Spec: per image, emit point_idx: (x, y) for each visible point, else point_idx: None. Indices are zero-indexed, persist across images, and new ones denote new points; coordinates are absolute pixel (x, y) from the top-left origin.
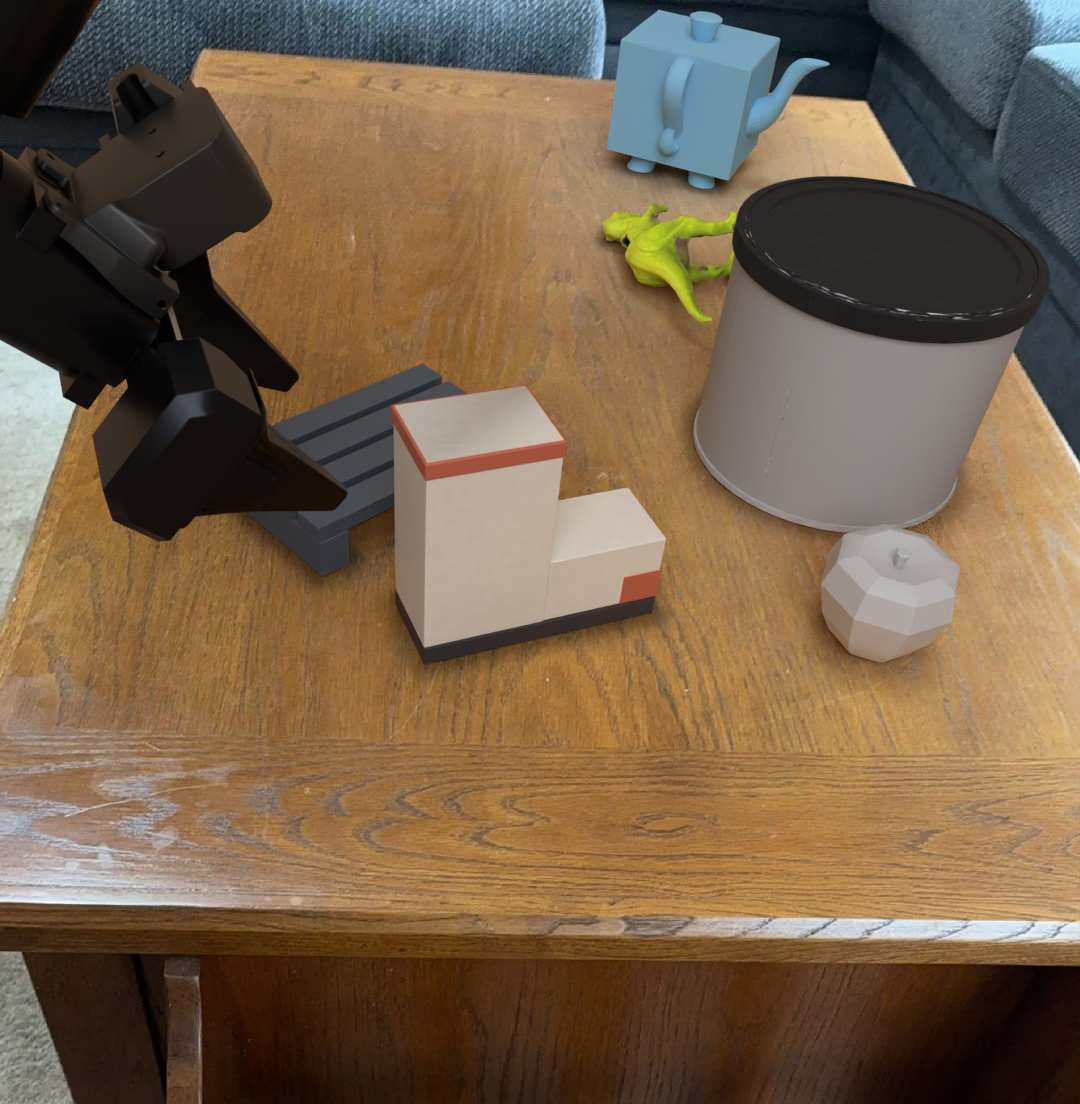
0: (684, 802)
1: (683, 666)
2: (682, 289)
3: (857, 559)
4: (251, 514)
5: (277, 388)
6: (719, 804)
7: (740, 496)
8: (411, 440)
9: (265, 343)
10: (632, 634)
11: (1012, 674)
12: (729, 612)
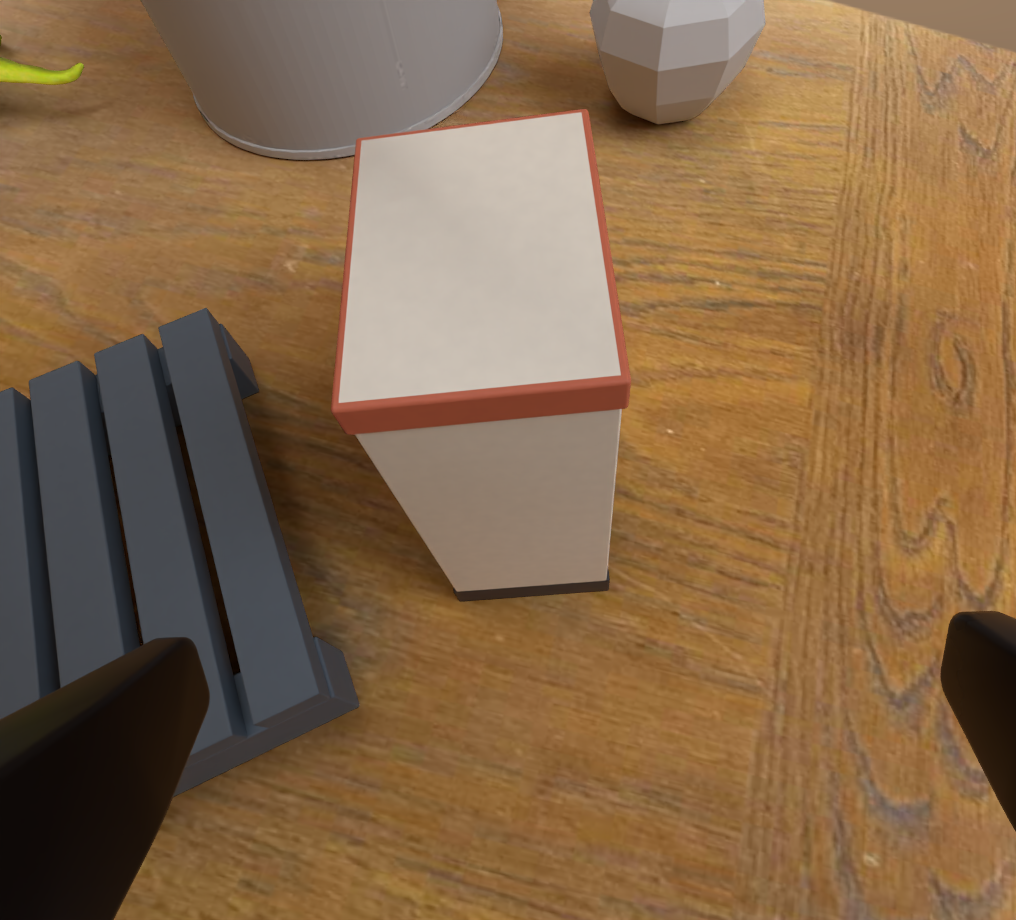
0: (914, 336)
1: (674, 274)
2: (7, 70)
3: (675, 3)
4: None
5: (192, 733)
6: (918, 302)
7: None
8: (508, 392)
9: (35, 751)
10: None
11: None
12: None
